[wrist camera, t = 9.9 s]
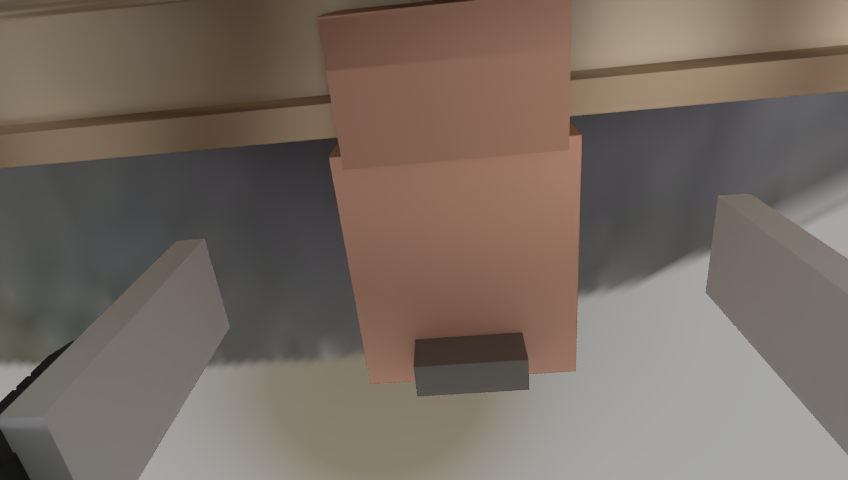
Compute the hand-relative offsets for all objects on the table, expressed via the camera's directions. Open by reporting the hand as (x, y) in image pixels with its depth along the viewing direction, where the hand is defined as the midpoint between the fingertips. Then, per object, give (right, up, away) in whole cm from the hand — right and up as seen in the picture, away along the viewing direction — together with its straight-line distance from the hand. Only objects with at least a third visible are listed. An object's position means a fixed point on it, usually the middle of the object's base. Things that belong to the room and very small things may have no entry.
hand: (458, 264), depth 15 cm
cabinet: (0, +5, +7) cm, 8 cm away
